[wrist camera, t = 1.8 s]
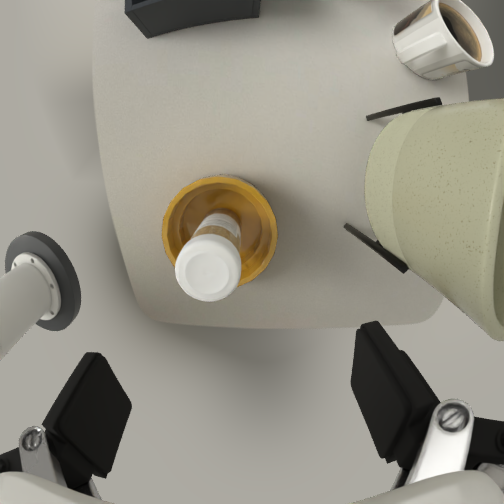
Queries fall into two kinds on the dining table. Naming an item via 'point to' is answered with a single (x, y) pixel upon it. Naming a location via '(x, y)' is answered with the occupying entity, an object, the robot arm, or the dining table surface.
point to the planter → (443, 201)
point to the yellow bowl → (230, 197)
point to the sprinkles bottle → (211, 257)
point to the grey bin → (186, 13)
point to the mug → (442, 40)
